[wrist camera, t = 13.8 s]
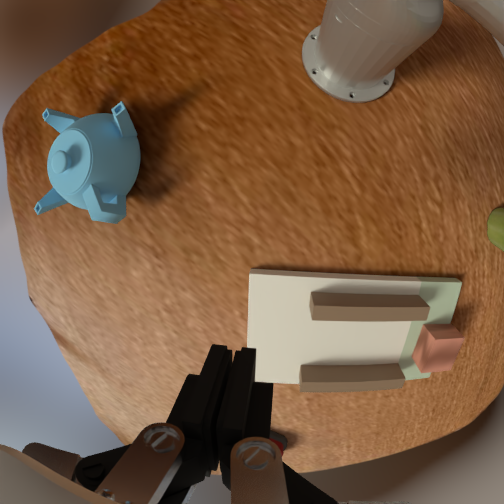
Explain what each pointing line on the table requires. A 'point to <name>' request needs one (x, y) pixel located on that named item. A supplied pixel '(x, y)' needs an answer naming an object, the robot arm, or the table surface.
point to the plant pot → (496, 228)
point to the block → (437, 347)
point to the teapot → (92, 163)
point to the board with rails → (342, 327)
